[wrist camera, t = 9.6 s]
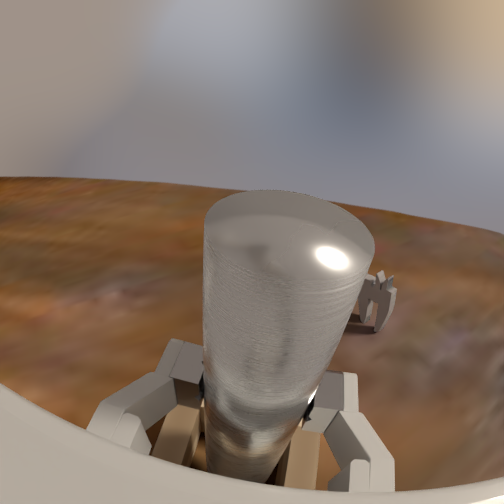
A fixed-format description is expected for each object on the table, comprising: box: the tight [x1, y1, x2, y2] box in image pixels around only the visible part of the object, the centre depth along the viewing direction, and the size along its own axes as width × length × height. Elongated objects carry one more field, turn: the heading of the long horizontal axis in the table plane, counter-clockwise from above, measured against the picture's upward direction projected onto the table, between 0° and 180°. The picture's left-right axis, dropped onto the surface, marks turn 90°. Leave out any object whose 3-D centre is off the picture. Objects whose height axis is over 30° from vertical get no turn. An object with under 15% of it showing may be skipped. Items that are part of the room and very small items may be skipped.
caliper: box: [358, 270, 397, 332], centre depth 34 cm, size 20×1×6 cm, turn 37°
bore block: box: [151, 399, 320, 490], centre depth 16 cm, size 9×9×4 cm
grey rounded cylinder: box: [203, 190, 375, 484], centre depth 11 cm, size 4×4×15 cm
